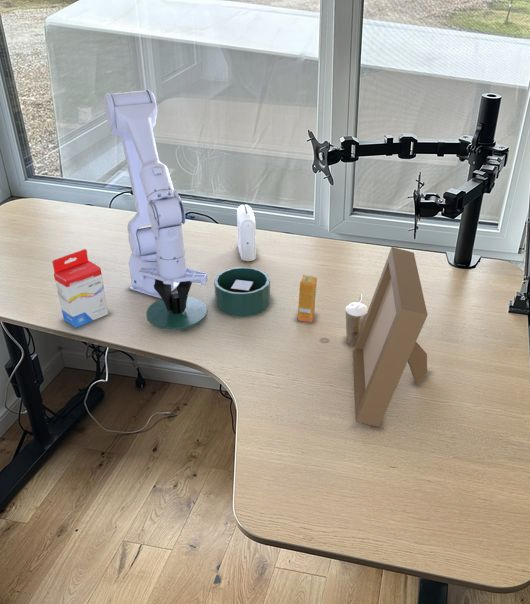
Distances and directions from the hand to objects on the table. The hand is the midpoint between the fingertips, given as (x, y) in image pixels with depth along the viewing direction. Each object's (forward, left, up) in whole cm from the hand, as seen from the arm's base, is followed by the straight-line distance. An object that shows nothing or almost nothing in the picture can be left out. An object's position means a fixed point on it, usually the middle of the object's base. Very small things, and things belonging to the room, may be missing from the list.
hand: (176, 309), depth 144 cm
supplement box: (+25, +14, -3) cm, 29 cm away
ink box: (-18, -9, -3) cm, 20 cm away
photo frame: (+51, -1, -3) cm, 51 cm away
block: (+9, +13, -2) cm, 16 cm away
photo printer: (-3, +35, -3) cm, 35 cm away
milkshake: (+38, +11, -3) cm, 40 cm away
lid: (0, 0, -1) cm, 1 cm away
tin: (+9, +13, -3) cm, 16 cm away
